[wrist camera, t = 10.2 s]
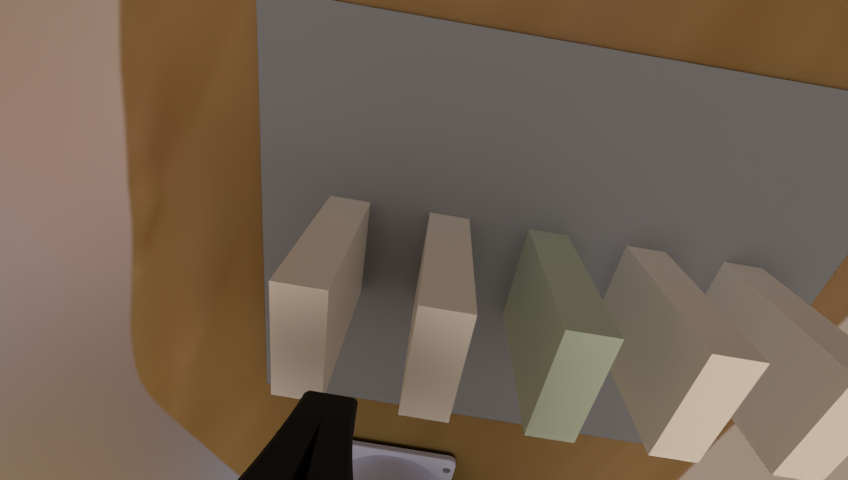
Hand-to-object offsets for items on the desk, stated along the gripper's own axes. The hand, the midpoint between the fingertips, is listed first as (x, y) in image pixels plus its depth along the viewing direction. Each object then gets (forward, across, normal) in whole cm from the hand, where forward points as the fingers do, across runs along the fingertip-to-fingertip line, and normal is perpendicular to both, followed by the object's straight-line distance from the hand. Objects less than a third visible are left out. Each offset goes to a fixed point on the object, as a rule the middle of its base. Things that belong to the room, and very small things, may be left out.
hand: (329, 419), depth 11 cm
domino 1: (+10, +2, 0) cm, 10 cm away
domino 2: (+10, -3, 0) cm, 10 cm away
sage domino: (+10, -7, 0) cm, 12 cm away
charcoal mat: (+10, -7, 0) cm, 12 cm away
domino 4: (+10, -16, 0) cm, 19 cm away
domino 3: (+10, -12, 0) cm, 15 cm away
